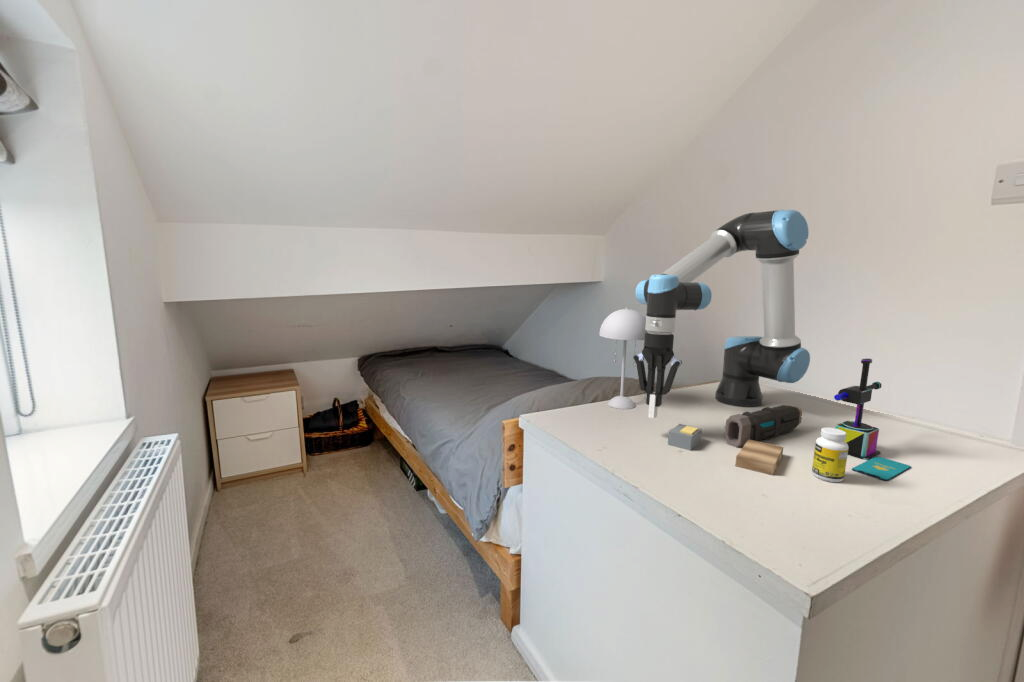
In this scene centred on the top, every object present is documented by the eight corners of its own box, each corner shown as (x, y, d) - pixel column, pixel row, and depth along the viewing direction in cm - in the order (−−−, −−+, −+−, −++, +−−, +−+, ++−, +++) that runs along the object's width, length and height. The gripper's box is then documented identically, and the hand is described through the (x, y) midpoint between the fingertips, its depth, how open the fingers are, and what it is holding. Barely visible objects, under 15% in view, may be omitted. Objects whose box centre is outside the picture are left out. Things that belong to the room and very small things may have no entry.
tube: (808, 443, 137) (745, 449, 122) (785, 441, 143) (722, 446, 128) (806, 405, 139) (743, 406, 123) (783, 404, 144) (720, 405, 129)
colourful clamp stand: (861, 463, 117) (875, 365, 113) (821, 450, 124) (833, 359, 120) (900, 443, 130) (914, 356, 126) (862, 433, 138) (874, 350, 134)
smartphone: (912, 465, 115) (887, 479, 107) (912, 468, 115) (886, 483, 107) (876, 455, 121) (850, 468, 113) (876, 458, 121) (850, 471, 113)
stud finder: (678, 437, 132) (679, 422, 132) (700, 442, 129) (701, 427, 128) (667, 445, 126) (668, 429, 126) (690, 451, 123) (691, 435, 122)
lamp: (588, 398, 168) (593, 305, 163) (634, 397, 171) (639, 305, 166) (607, 413, 151) (612, 310, 146) (656, 411, 155) (663, 310, 149)
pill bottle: (805, 473, 110) (810, 427, 108) (823, 469, 112) (829, 424, 111) (831, 485, 105) (837, 437, 103) (850, 480, 107) (857, 433, 105)
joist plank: (747, 448, 125) (748, 439, 124) (782, 456, 120) (783, 446, 120) (735, 465, 114) (736, 456, 113) (773, 475, 109) (774, 464, 108)
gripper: (630, 331, 129) (624, 415, 132) (679, 336, 121) (671, 425, 125) (641, 328, 135) (635, 409, 138) (688, 333, 127) (680, 418, 131)
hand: (652, 416), depth 132 cm, fingers closed
